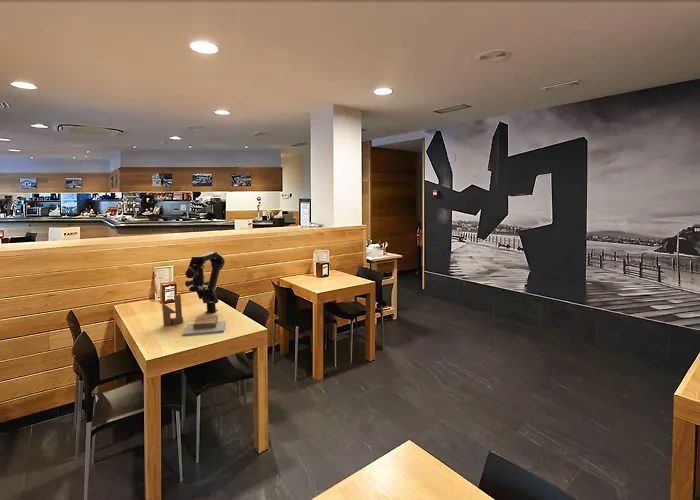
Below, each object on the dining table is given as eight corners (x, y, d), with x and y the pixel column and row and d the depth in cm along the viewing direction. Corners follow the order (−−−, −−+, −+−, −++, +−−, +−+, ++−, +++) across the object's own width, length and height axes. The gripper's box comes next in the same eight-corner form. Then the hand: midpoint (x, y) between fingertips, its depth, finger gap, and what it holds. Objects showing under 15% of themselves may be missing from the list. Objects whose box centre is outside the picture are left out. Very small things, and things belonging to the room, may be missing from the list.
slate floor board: (187, 325, 242) (187, 323, 242) (225, 322, 247) (225, 320, 247) (182, 335, 225) (182, 333, 224) (223, 332, 230) (223, 329, 230)
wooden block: (163, 325, 245) (161, 296, 242) (181, 321, 251) (179, 293, 249) (165, 326, 242) (162, 297, 239) (183, 322, 248) (181, 294, 246)
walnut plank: (196, 316, 245) (193, 324, 232) (217, 315, 248) (215, 322, 234) (197, 321, 246) (194, 329, 232) (217, 319, 248) (215, 327, 235)
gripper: (192, 272, 266) (194, 295, 268) (180, 278, 247) (181, 302, 249) (209, 272, 266) (210, 295, 268) (197, 278, 247) (199, 302, 249)
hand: (200, 299), depth 258 cm, fingers closed
